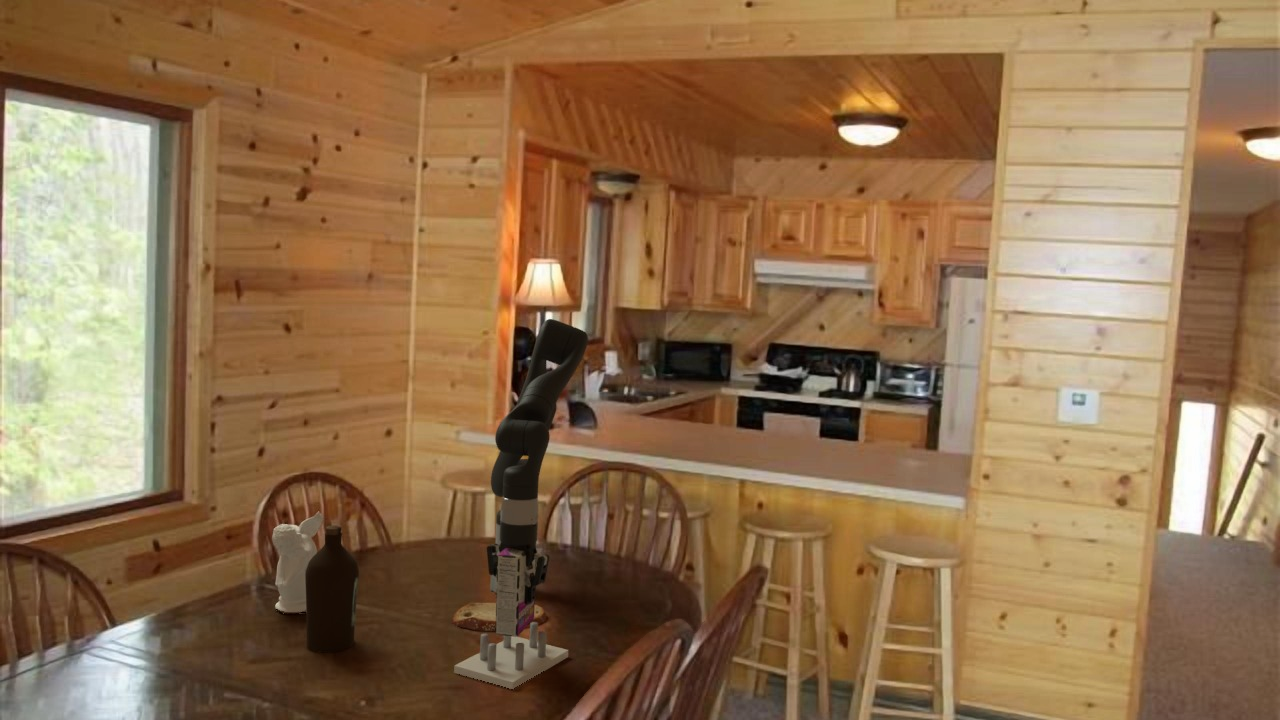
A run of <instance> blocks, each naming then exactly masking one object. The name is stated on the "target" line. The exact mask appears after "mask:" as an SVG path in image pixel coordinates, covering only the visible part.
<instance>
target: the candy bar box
mask: <svg viewBox="0 0 1280 720" xmlns="http://www.w3.org/2000/svg"><path fill="white" fill-rule="evenodd" d="M536 545H537V542H536ZM535 562H536V560H535V559H534V560H533V563H534V566H535V569H536V566H537V565H536V564H535ZM525 567H526V570H529V567H527V566H526V552H525V551H521V550H516V549H511V548H506V549H504V550H503V551H502V552H501V553H499V554H498V555H497V593H496V598H495V599H496V600H495V601H496V602H495V603H496V630H495V631H494V632H495V635H497V636H498V635H499V636H504V635H505V636H511V637H512V636H514V637H519V636H520V634H521V633H522V632H523V631H524V630H525V629H526V627H527V625H528V624H529V623H530V622H531V621H532V620H533V619H534V605H536V604H535V603H536V601H535V600H536V599H535V600H534V601H533V602H532V603H531V604H529V605H527V604H525V603H524V602H525V586H526V583H525V574H524V573H525ZM527 628H528V627H527Z"/></svg>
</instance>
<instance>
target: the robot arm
mask: <svg viewBox="0 0 1280 720" xmlns="http://www.w3.org/2000/svg"><path fill="white" fill-rule="evenodd" d="M588 341H589V336H588V334H587V332H586V331H584V330H582V329H580V328H578V327H575V326H572V325H570V324H568V323H565V322H563V321H559V320H556V319H553V318H552V319H551V318H549V319H546V320H544V321H543V323H542V325H541V326H540V328H539V330H538V334H537V337H536V340H535V344H534V348H533V349H532V350H533V351H532V355H531V358H530V362H529V367H528V371H527V374H526V378H525V381H524V384H523V386H522V389H521V392H520V394H519V396H518V397H519V398H518V400H517V403H516V405H515V407H514V408H513V409H512V410H511V411H510V412H508V414H506V416H505V417H504V418H503V419H501V422H500V423H499V425H498V426H497V428H496V432H495V439H494V440H495V445H496V447H497V449H498V450H499V451H500V452H499V453H498V455H497V458H496V460H495V462H494V464H493V466H492V467H493V468H492V471H491V476H490V486H491V487H490V488H491V490H492V493H493V494H494V495H495V496H496V497H498V498H499V497H500V498H501V499H502V500H501V505H500V510H498V512H496V517H495V518H496V519H495V520H496V522H495V524H496V525H495V526H496V527H495V543H493V544H491V545H488V546H487V547H486V554H487V564H488V565H487V566H488V567H487V568H488V574H489V575H490V587H489V591H493V593H495V594H497V555H498V554H499V553H501V552H502V551H503V550H504V549H506V548H511V549H516V550H521V551H525V552H526V566H527V567H529V570H526V567H525V573H524V574H525V583H526V586H525V602H524V603H525V604H527V605H529V604H531V603H532V602H533V601H534V600H536V587H537V586H539V585H541V584H544V583H545V582H546V577H547V573H548V567H549V562H550V555H549V554H541V553H538V550H537V544H536V543H537V541H538V531H539V530H538V529H539V528H538V527H539V501H538V498H539V497H538V496H539V477H540V473H541V468H542V465H543V462H544V461H543V460H544V457H545V455H546V452H547V449H548V446H549V443H550V429H551V427H552V424H553V421H554V418H555V415H556V412H557V402H558V400H559V398H560V396H561V394H562V392H563V391H564V389H565V388H566V386H567V385H568V384H569V381H571V379H572V377H573V375H574V374H575V372H576V370H577V369H578V367H579V365H580V364H581V361H582V360H583V357H584V356H585V353H586V350H587V347H588ZM547 362H550V363H552V364H555V365H558V366H557V367H555V368H554V369H552V370H549V371H547ZM523 457H527V458H523ZM534 559H535V560H536V562H535V564H536V569H535V566H534V563H533V560H534Z"/></svg>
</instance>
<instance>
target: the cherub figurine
mask: <svg viewBox="0 0 1280 720" xmlns="http://www.w3.org/2000/svg"><path fill="white" fill-rule="evenodd" d="M323 521H324V518H323V514H322V513H321V512H320V511H319V510H318V511H317V512H316V514H314V515H313V516H312V517H309V518H307V519H305V520H303V521H302V522H301V523H300V524H299V525H296V524H287V523H286V524H285V523H280V524H279V525H278V526H275V528H273V531H272V536H271V540H272V544H273V545H274V547H276V548H277V549H278V556H279V559H278V562H277V565H276V577H275V586H277V590H278V593H279V595H280V596H279V597H278V602H276V604H275V606H274V608H275V610H276V609H278V610H280V611H284V612H302V611H305V610H306V582H305V573H306V569H307V566H308V563H309V561H310V560H311V558H312V557H313V556H314V555H315V554H316V553H317V552H318V549H317V546H316V544H315V541H314V540H313V539H312V538H313V537H314V536H315V535H317V533H318V531H319V529H320V526H321V525H322V523H323Z"/></svg>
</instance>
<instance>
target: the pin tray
mask: <svg viewBox="0 0 1280 720" xmlns="http://www.w3.org/2000/svg"><path fill="white" fill-rule="evenodd" d="M538 629H539V624H538V623H537V622H531V623H530V627H529V639H528V638H524V637H520V636H517V637H514V636H505V635H503V640H502V641H500V642H498V643H496V642H495V643H494V642H490V637H489V636H490V634H489V633H481V634H480V642H479V643H480V648H479V649H480V650H479V653H477V654H473V655H472V656H470V657H468V658H466V659H465V660H463V661H460V662H459V663H457V664H455V665H454V669H453V670H454V671H453V673H454V674H455V675H456V674H457V675H459V674H460V676H463V677H466V676H467V678H471V679H473V678H474V680H477V679H478V680H477V681H480V680H482V681H481V682H483V681H485V682H484V683H487V682H489V683H488V684H490V683H493V684H492V685H494V684H496V685H495V686H497V685H500V686H499V687H501V686H503V687H502V688H504V687H506V688H505V689H507V688H509V690H511V689H513V690H514V688H515V687H517V686H518V687H520V686H522V685H523V684H525V683H527V682H528V681H530V680H532V679H533V678H535V677H537V676H538V674H539V675H540V674H541V672H542V673H544V672H546V671H547V670H548V669H551V668H552V667H553V666H556V665H557V664H559V663H560V662H562V661H564V660H566V659H567V658H569V649H567V648H566V649H565V648H563V647H558V646H554V645H550V644H547V631H545V630H538ZM489 642H490V643H489ZM543 671H544V672H543ZM536 675H537V676H536ZM534 676H535V677H534ZM531 678H532V679H531ZM529 679H530V680H529ZM527 680H528V681H527ZM526 681H527V682H526ZM524 682H525V683H524ZM522 683H523V684H522ZM521 684H522V685H521ZM519 685H520V686H519ZM518 687H517V688H518ZM515 689H516V688H515Z"/></svg>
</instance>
